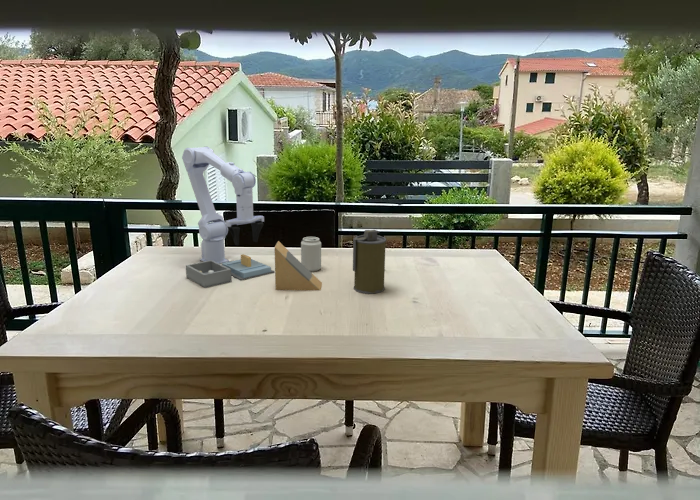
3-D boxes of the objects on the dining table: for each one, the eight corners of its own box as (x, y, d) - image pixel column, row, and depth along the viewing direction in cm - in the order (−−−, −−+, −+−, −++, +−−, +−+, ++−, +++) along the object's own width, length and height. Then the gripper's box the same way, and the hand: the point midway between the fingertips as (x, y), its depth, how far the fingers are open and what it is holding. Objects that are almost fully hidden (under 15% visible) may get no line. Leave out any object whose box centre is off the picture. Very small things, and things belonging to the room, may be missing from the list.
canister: (376, 282, 181) (378, 226, 176) (389, 291, 172) (392, 233, 166) (347, 285, 177) (348, 228, 172) (359, 295, 168) (360, 235, 162)
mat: (218, 269, 192) (218, 268, 191) (251, 262, 201) (251, 261, 200) (240, 280, 180) (240, 279, 180) (274, 272, 189) (274, 271, 189)
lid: (222, 267, 192) (221, 254, 191) (248, 262, 199) (248, 248, 198) (243, 278, 181) (243, 263, 180) (271, 271, 188) (270, 257, 187)
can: (318, 272, 190) (318, 241, 187) (298, 271, 191) (298, 240, 188) (323, 266, 197) (323, 236, 194) (303, 265, 198) (303, 235, 195)
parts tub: (186, 277, 182) (185, 265, 181) (212, 271, 189) (211, 260, 188) (204, 287, 172) (204, 275, 171) (231, 281, 179) (231, 269, 178)
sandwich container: (321, 291, 172) (321, 247, 168) (275, 290, 172) (274, 247, 168) (322, 282, 180) (322, 241, 176) (278, 282, 180) (277, 240, 176)
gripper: (232, 210, 177) (233, 248, 181) (268, 205, 187) (269, 242, 190) (222, 207, 183) (224, 244, 186) (257, 202, 192) (259, 238, 195)
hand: (246, 243), depth 189 cm, fingers open, 7 cm apart
